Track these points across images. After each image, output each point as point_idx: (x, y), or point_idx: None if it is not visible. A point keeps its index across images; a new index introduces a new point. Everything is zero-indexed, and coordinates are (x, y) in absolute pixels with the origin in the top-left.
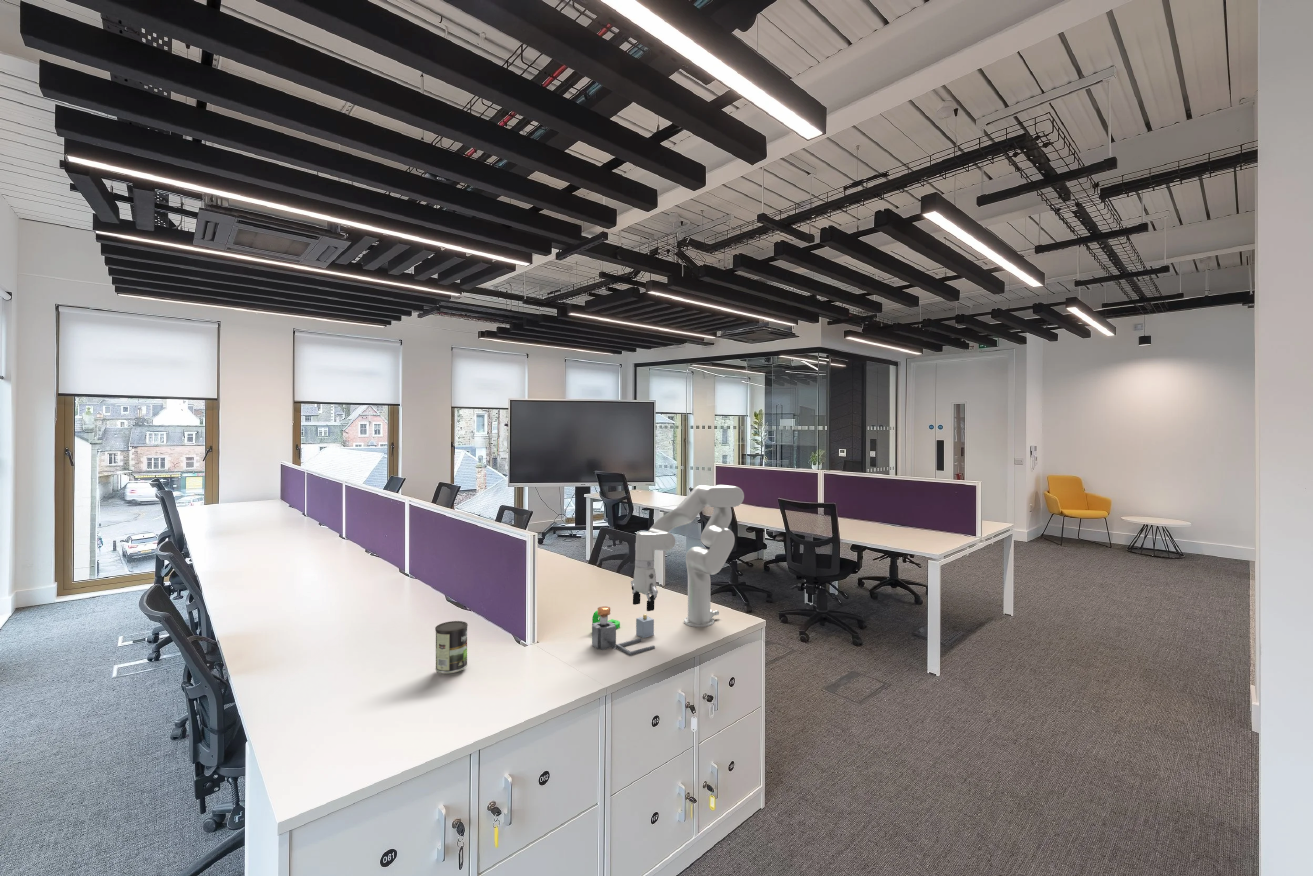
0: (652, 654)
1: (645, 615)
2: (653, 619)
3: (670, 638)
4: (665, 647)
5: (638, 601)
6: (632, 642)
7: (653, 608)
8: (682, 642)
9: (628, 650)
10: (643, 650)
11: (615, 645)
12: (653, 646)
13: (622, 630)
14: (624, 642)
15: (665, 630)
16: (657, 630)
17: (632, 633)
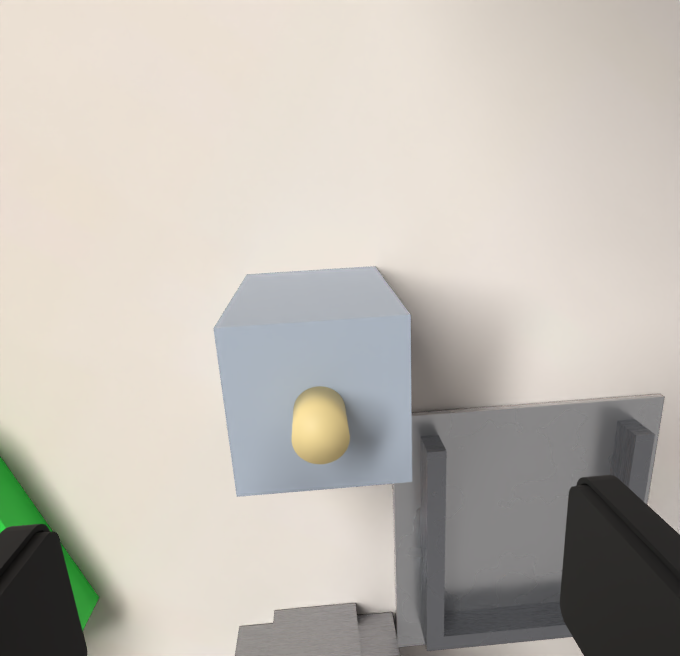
0: (671, 462)
1: (344, 443)
2: (409, 320)
3: (502, 135)
4: (639, 306)
5: (32, 612)
6: (443, 526)
7: (629, 507)
8: (663, 89)
9: None
10: None
11: (393, 626)
12: (652, 446)
13: (64, 433)
14: (431, 592)
15: (269, 34)
16: (224, 122)
17: (183, 391)
